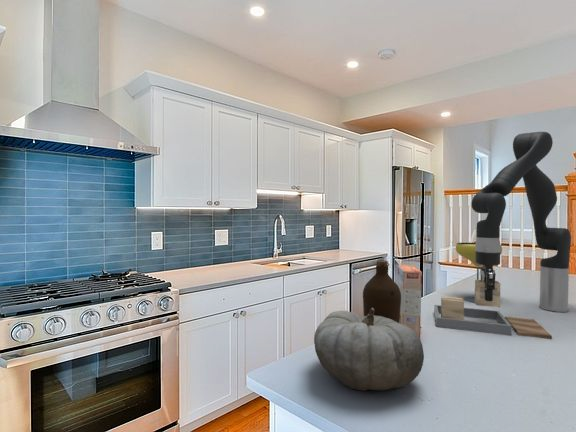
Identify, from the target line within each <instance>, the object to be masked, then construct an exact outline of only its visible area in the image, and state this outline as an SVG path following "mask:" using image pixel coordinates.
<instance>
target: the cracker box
mask: <svg viewBox="0 0 576 432" xmlns="http://www.w3.org/2000/svg"><path fill="white" fill-rule="evenodd" d="M397 265H398V266H397V285H398V287H399V289H400V292H401V308H400V322H399V324H403V325H405V326H407V327H409V328H410V329H412V330H413V331H414V332H415V333H416V334H417V335H418V337H419V338H420V339H421V324H422V323H421V321H422V320H421V316H422V315H421V314H422V282H423V281H422V279H423V278H422V277H423V272H422V271H421V270H420V269H419V268H418V267H417V266H415V265H413V264H397Z"/></svg>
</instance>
